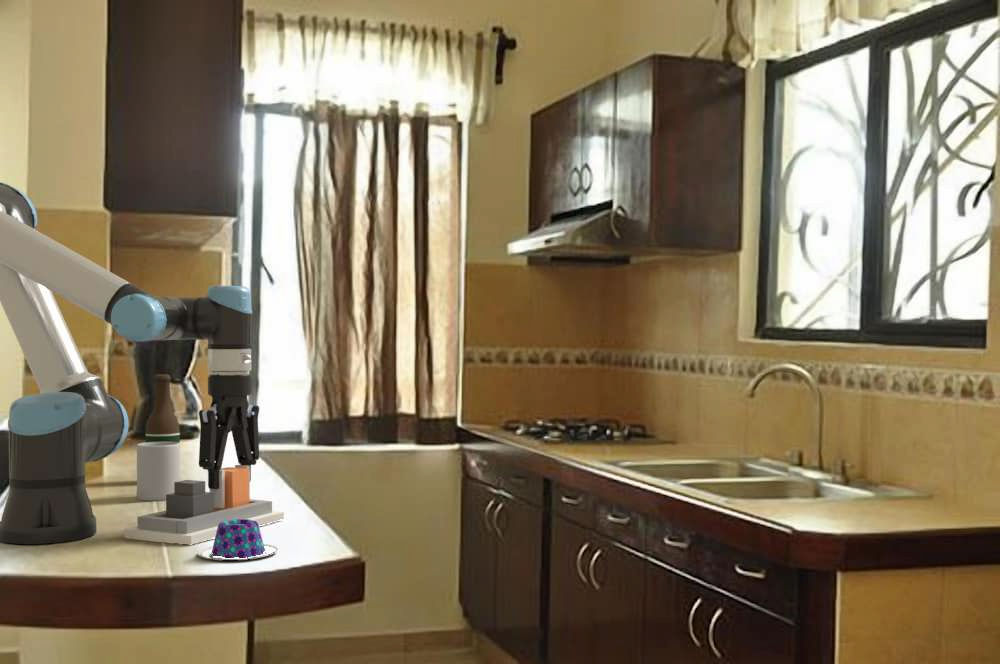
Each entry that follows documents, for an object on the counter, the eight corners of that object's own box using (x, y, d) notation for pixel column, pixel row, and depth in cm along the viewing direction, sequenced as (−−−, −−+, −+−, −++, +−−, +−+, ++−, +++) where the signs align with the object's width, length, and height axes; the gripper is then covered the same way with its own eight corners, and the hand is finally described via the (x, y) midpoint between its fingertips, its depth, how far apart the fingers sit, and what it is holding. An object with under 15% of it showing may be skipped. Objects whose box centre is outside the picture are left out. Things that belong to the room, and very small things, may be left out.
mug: (178, 500, 216) (178, 445, 216) (133, 501, 214) (133, 446, 214) (184, 491, 228) (184, 439, 228) (142, 492, 226) (141, 440, 226)
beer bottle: (153, 485, 236) (152, 375, 236) (138, 481, 242) (138, 374, 242) (186, 482, 241) (186, 374, 241) (171, 478, 247) (171, 373, 247)
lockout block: (232, 517, 188) (232, 471, 187) (211, 516, 189) (211, 470, 189) (249, 513, 192) (248, 468, 192) (228, 511, 194) (228, 467, 194)
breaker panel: (191, 545, 171) (191, 523, 171) (124, 538, 177) (124, 516, 177) (283, 520, 193) (283, 501, 193) (221, 514, 199) (221, 495, 199)
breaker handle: (193, 527, 178) (193, 484, 178) (166, 524, 180) (166, 482, 180) (213, 522, 182) (213, 480, 182) (186, 519, 185) (186, 478, 185)
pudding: (245, 545, 173) (245, 512, 173) (294, 554, 166) (294, 520, 166) (181, 557, 164) (181, 523, 164) (229, 568, 156) (229, 532, 156)
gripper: (210, 375, 180) (210, 514, 180) (280, 371, 197) (280, 498, 198) (175, 375, 183) (175, 511, 184) (247, 371, 201) (247, 495, 201)
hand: (230, 504), depth 191 cm, fingers open, 6 cm apart
